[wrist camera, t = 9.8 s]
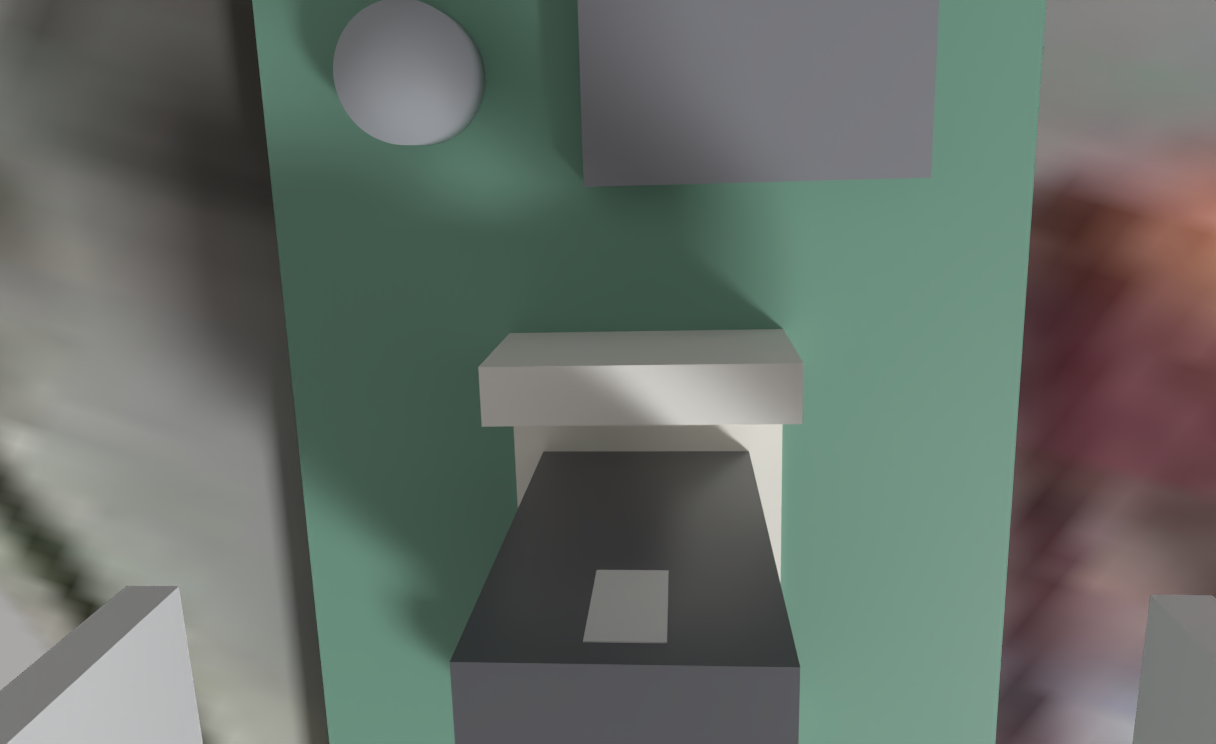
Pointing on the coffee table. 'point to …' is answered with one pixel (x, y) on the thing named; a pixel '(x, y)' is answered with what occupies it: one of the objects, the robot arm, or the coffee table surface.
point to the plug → (631, 610)
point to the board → (660, 313)
